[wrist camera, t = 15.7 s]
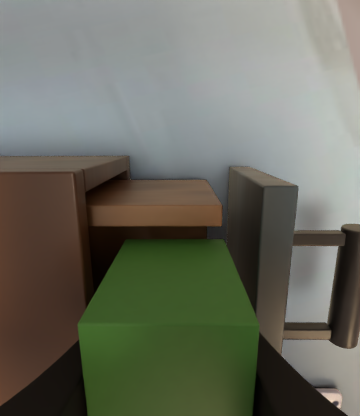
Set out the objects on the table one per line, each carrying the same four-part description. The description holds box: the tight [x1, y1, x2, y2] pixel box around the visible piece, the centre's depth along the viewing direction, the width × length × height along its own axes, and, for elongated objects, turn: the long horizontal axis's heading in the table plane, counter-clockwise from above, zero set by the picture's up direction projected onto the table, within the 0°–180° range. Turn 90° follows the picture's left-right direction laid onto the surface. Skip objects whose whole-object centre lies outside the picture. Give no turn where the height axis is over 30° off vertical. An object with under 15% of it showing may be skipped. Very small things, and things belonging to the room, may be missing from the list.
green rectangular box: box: [78, 239, 260, 416], centre depth 9 cm, size 6×4×5 cm, turn 0°
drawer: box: [85, 167, 360, 355], centre depth 14 cm, size 18×11×7 cm, turn 90°
